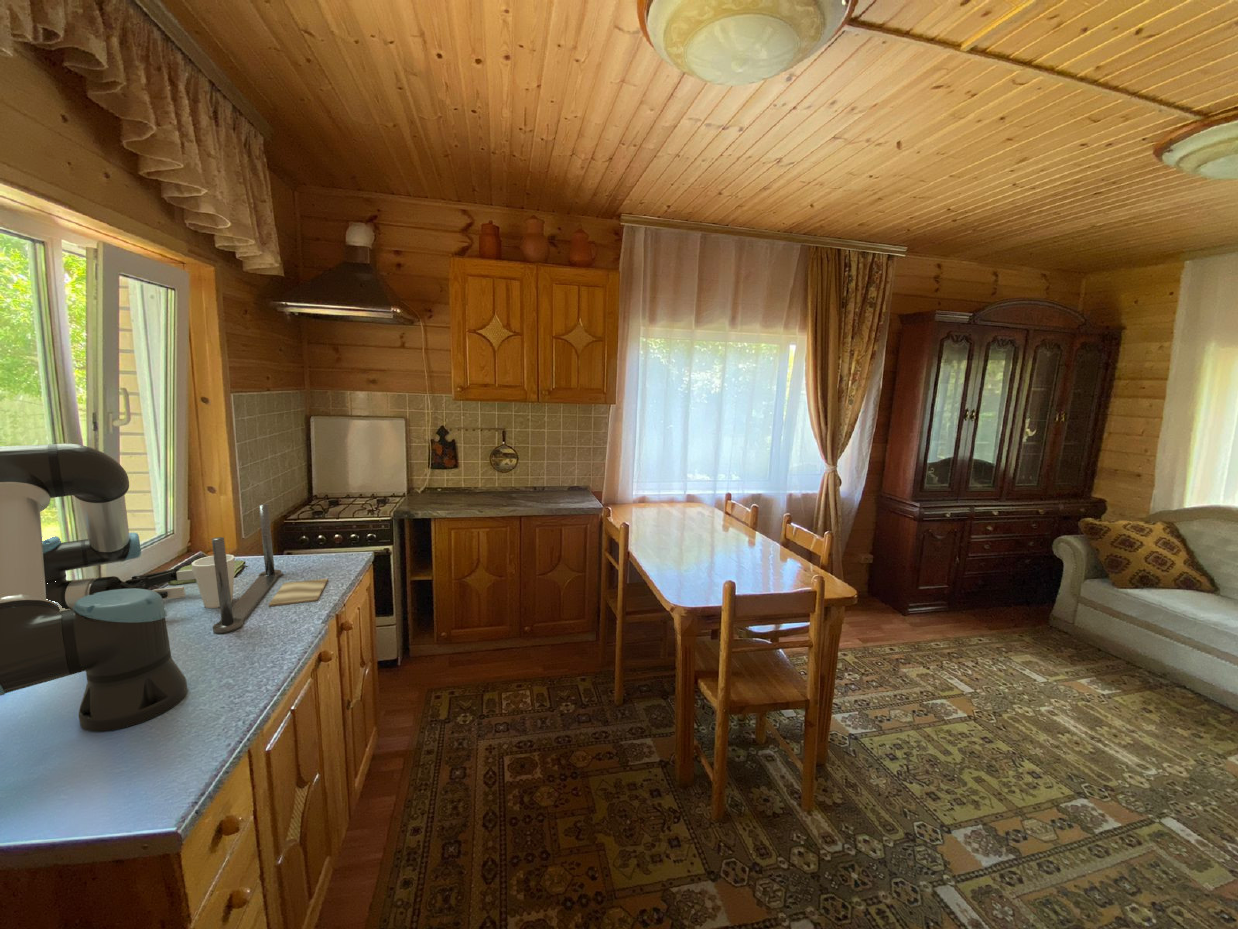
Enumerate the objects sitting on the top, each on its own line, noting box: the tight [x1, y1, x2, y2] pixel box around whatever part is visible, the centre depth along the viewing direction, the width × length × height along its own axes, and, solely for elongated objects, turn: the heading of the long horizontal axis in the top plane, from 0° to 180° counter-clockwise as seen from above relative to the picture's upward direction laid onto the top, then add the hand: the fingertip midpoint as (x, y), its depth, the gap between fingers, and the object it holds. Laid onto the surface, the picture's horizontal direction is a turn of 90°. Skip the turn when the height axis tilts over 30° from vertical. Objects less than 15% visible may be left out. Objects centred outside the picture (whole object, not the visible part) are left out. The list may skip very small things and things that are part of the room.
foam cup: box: [190, 553, 236, 609], centre depth 139 cm, size 10×9×13 cm
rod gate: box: [211, 503, 282, 635], centre depth 141 cm, size 42×6×24 cm, turn 21°
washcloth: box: [167, 559, 246, 586], centre depth 160 cm, size 13×18×3 cm
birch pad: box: [268, 578, 329, 607], centre depth 148 cm, size 16×12×1 cm
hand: (195, 582), depth 138 cm, fingers open, 13 cm apart
